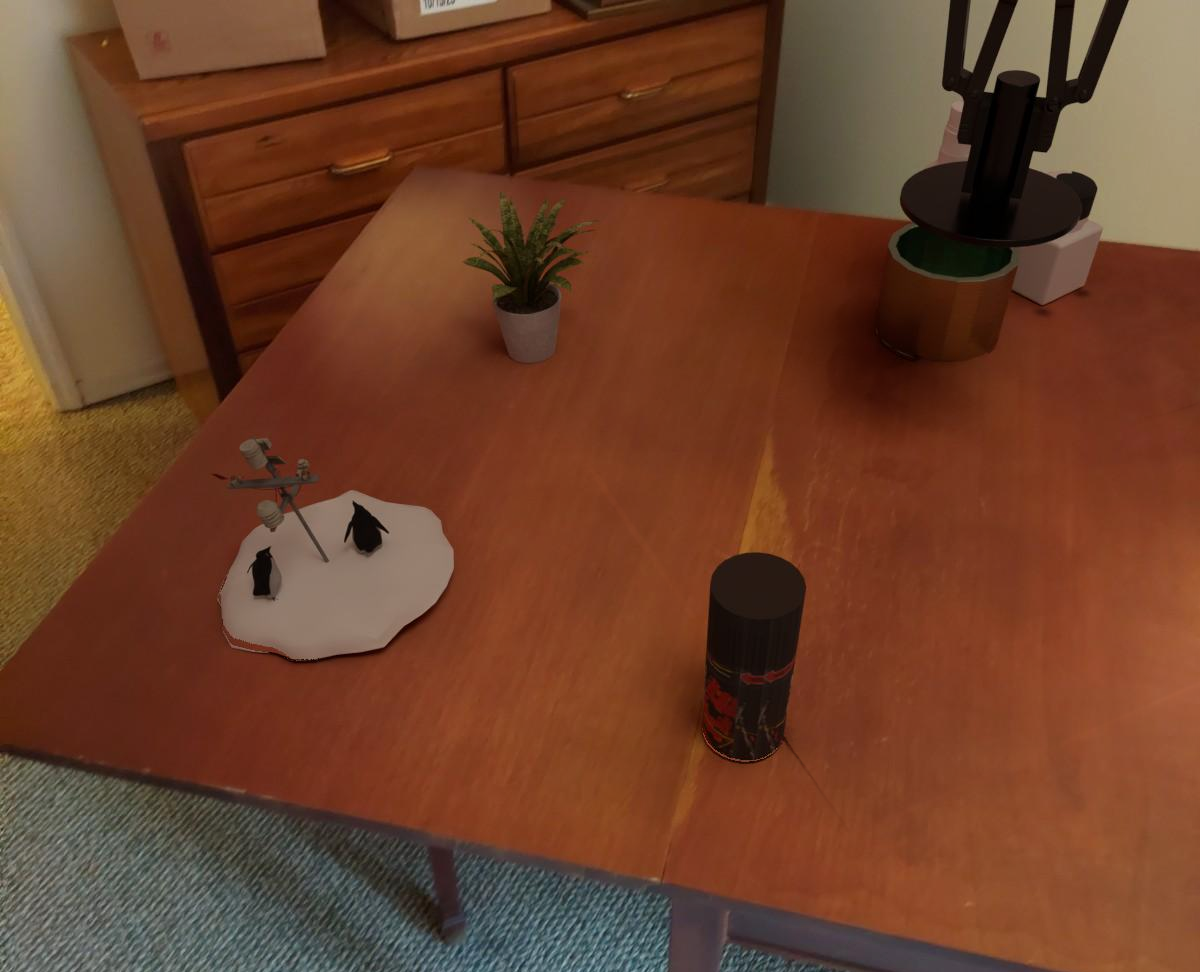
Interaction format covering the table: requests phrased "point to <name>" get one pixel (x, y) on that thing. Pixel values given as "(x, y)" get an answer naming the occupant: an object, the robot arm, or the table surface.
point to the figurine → (330, 568)
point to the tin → (942, 296)
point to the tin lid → (995, 183)
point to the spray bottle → (952, 140)
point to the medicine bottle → (1061, 250)
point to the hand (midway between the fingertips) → (992, 187)
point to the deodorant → (751, 654)
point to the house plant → (528, 280)
